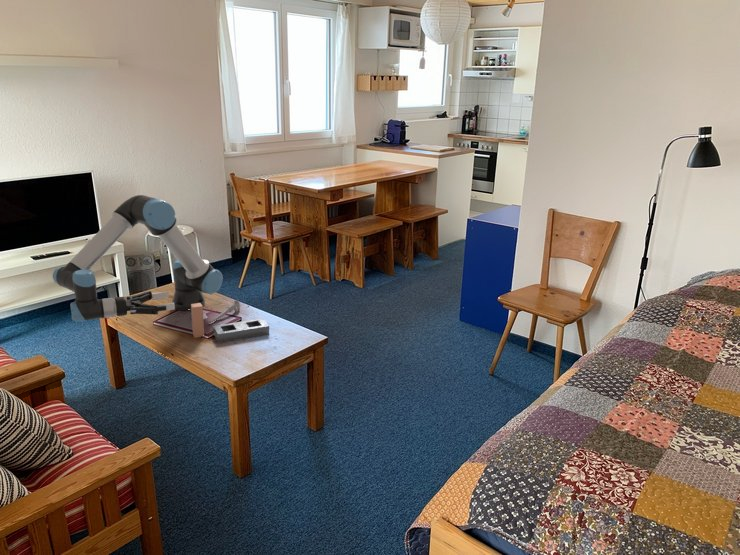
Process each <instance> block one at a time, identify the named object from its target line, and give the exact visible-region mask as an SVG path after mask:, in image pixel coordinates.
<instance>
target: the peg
mask: <svg viewBox="0 0 740 555" xmlns="http://www.w3.org/2000/svg"><path fill="white" fill-rule="evenodd" d="M190 311H191V326H192V327H191V328H192V330H191V331H192V335H193V337H194V339H196V338H197V339H198V338H202V337H201V336H203V335H204V336H205V326H204V325H205V323H204V306H202V304H201V303H196V304H191V310H190Z"/></svg>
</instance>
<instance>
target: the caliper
mask: <svg viewBox="0 0 740 555" xmlns="http://www.w3.org/2000/svg"><path fill="white" fill-rule="evenodd" d="M240 310H241V304H240V301H239V300H238V299H235V300H234V302H233V303H232V304H230V306H228V307H227V308H226V309H225V310H224V311H222V312H221V313H219V314H218V315H217V316H215V317H214V318H212V319H211V320H210V321H209V323H210V322H213V321H215V320H217V319H219V318H220V319H221V317H222V318H224V316H225V315H227V314H229V313H232V312H233V311H234V312H235V313H237V312H239V311H240ZM220 319H219V320H220ZM217 321H218V320H217Z"/></svg>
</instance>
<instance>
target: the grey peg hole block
mask: <svg viewBox="0 0 740 555" xmlns="http://www.w3.org/2000/svg"><path fill="white" fill-rule="evenodd" d="M212 331H213V332H214V334H213V337H215V340H216V341H217V343H219V344H220V343H226V342H232V341H238V340H243V339H251V338H256V337H262V336H267V335H270V325H269V324H268V323H267V322H266V321H265V319H264V318H257V319H250V320H244V321H243V320H242V321H238V322H237V321H236V322H230V323H224V324H223V323H222V324H217V325H213V326H212Z"/></svg>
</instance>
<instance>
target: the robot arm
mask: <svg viewBox="0 0 740 555" xmlns="http://www.w3.org/2000/svg"><path fill="white" fill-rule="evenodd" d="M111 214H112V217H111V218H110V219H109V220H107V222H106V223H105V224H104V225H103V227H101V228H100V229H99V230H98V232H96V233H95V235H94V236H92V237H91V239H90V240H88V242H86V244H85V245H84V246H83V247H82V248H81V249H80V250H79V251H78V253H77V254H75V256H73V258H72V259H71V260H70V261H69V262H68V263H67V264H66V265H64V266H59V267H56V268H55V269H54V270H53V272H52V279H53V281H54V283H55V284H57V285H58V286H60V287H61V288H65V289H67V290H69V291H72V292H74V298H75V300H74V301H73V302H70V311H71V313H70V314H71V319H72V321H74V322H82V321H83V322H84V321H85V322H86V321H91V320H99V319H110V318H115V316H117V317H125V316H127V315H128V312H129V314H130V315H136V314H137V315H158V314H159V312H167V311H174V310H177V311H189V310H188V309H191V304H196V303H201V304H202V306H203V307H204V306H205V305H206V299H205V297H204V294H208V295H212V294H214V293H216V292H218V291H219V290H220V289H221V286H222V284H223V280H224V277H223V273H222V272H221V271H220V270H219V269H217V268H216V269H215V268H214V267H213V266H212V265H211V262H209V261H208V259H205V258H202V257H201V256H200V255H199V253H198V252H197V251H196V249H195V248H194V247H193V245H192V244H191V243H190V241H189V240H188V239H187V237H186V235H185V234H183V232H182V231H181V229H180V228H179V227H178V225H177V218H176V212H175V209H174V207H173V205H171V203H170V202H168V201H165V200H164V199H161V198H157V197H156V198H155V197H151V196H148V195H143V194H138V195H134V196H132V197H130V198H127V200H125V201H124V202H122V203H121V204H120V205H119V206H118V207H117V208H116V209H114V211H113V212H112V213H111ZM138 224H141V225H144V226H145V228H147V230H148V231H149V232H150V233H151V234H152V235H153V236H155V237H159V239H160V240H161V242H163V244H164V245H165V246H166V247H167V249H168V250H169V251H170V252H171V253H172V255H173V256H174V257H175V259H176V260H175V261H173V263H172V264H173V266H172V271H173V282H174V292H173V297H172V301H171V302H168V303H159V304H157V305H154V304H153V305H152V304H146V302H148V301H151V300H153V301H156V300H165V299H169V298H170V293H169V291H162V292H161V291H159V292H154V293H153V292H152V290H150V291H149V290H148V291H145V292H142V293H138V294H135V295H132V296H126V297H125V296H118V297H114V298H113V297H107V298H100V299H99V298H98V293H97V292H98V291H97V279H96V275H95V271H93V270H92V268H93V267H94V266H95V264H97V263H98V262H99V260H100V259H101V258H102V257H103V256H104V255H105V254H106V253H107V252H108V251H109V250H110V249H111V248H112V246H114V244H116V242H118V241H119V239H120V238H121V237H122V236H123V235H124V234H125V233H126V232H127V231H128V230H132V229H133V228H135V226H136V225H138Z"/></svg>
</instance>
